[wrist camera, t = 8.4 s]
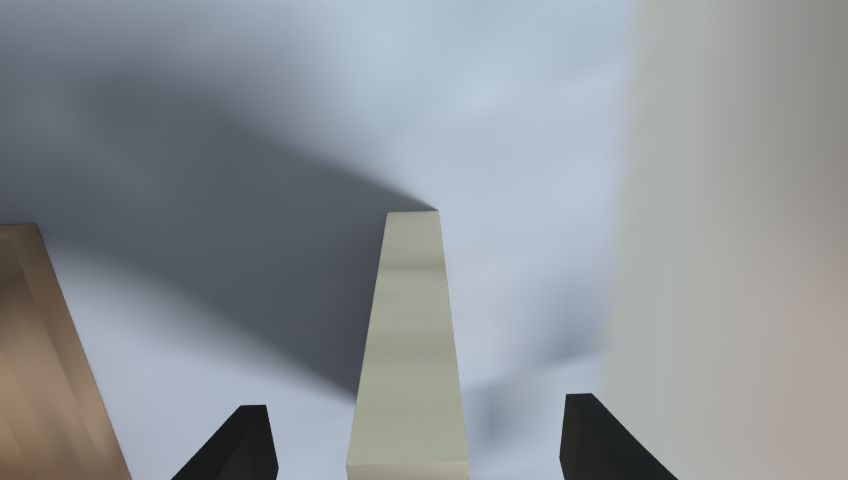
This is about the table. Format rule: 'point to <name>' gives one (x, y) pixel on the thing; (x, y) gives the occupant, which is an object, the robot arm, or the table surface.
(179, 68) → the table surface
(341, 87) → the table surface
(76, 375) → the walnut rack
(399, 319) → the birch block
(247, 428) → the robot arm
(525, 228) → the table surface
